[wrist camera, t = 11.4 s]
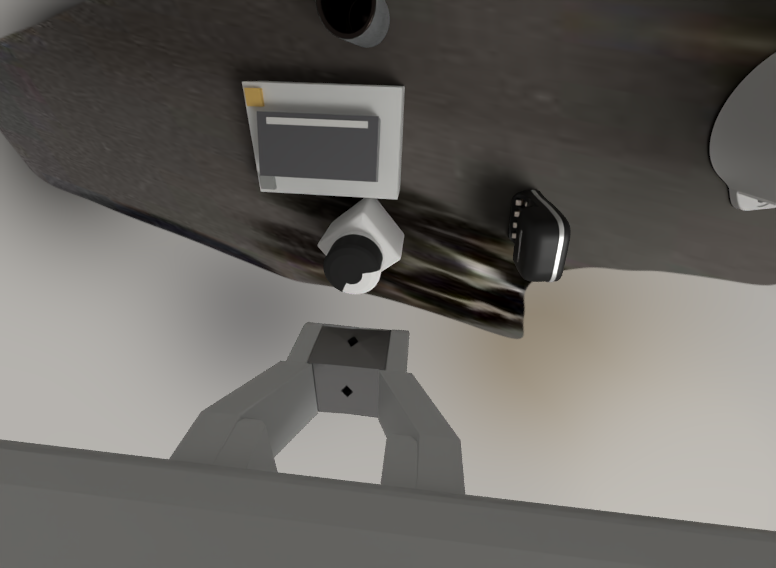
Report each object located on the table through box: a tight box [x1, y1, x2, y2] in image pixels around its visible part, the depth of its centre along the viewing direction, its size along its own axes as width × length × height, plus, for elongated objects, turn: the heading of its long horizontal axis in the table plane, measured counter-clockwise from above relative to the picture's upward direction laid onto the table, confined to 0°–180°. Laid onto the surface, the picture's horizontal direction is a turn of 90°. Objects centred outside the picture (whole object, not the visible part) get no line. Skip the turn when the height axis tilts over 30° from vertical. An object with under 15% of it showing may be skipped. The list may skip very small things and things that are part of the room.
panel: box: [242, 81, 405, 199], centre depth 37 cm, size 16×11×5 cm
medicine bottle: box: [318, 198, 404, 294], centre depth 40 cm, size 7×7×12 cm
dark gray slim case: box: [257, 111, 381, 182], centre depth 34 cm, size 12×6×2 cm, turn 88°
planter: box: [315, 0, 390, 47], centre depth 29 cm, size 4×4×10 cm
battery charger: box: [508, 190, 570, 282], centre depth 37 cm, size 7×4×11 cm, turn 5°
